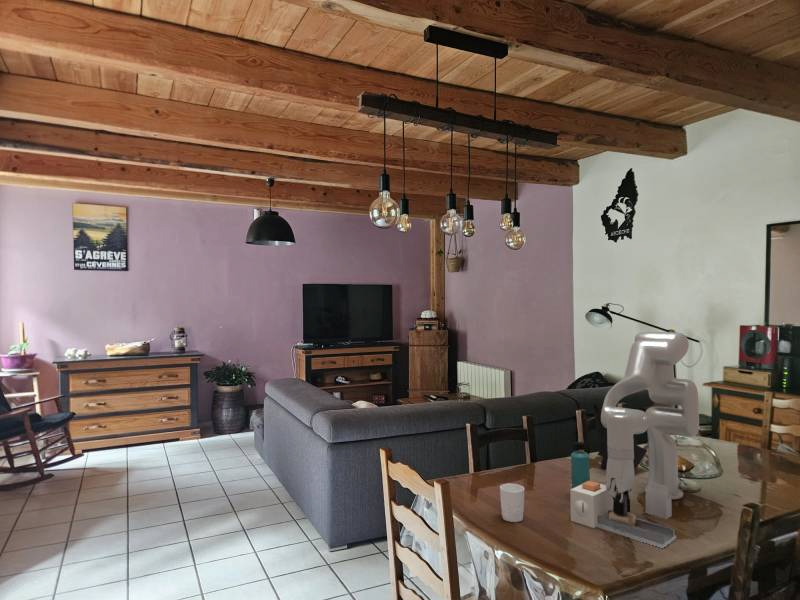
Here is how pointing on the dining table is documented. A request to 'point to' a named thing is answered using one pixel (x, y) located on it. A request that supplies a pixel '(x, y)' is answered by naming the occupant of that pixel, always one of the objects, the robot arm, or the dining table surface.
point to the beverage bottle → (579, 465)
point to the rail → (639, 531)
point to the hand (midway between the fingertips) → (621, 512)
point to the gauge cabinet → (589, 505)
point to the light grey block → (658, 500)
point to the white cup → (512, 502)
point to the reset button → (591, 486)
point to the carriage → (627, 517)
